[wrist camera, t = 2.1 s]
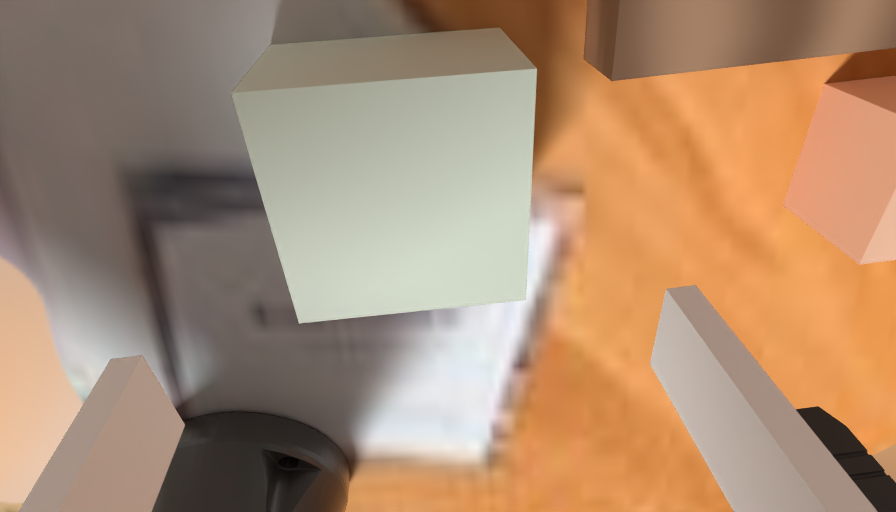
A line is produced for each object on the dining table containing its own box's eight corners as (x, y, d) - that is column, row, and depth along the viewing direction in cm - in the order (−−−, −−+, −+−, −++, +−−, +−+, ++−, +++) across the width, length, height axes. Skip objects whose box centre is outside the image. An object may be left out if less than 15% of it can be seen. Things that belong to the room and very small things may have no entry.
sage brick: (316, 236, 28) (298, 323, 22) (271, 43, 22) (230, 93, 16) (497, 219, 28) (525, 300, 23) (499, 26, 23) (536, 68, 17)
